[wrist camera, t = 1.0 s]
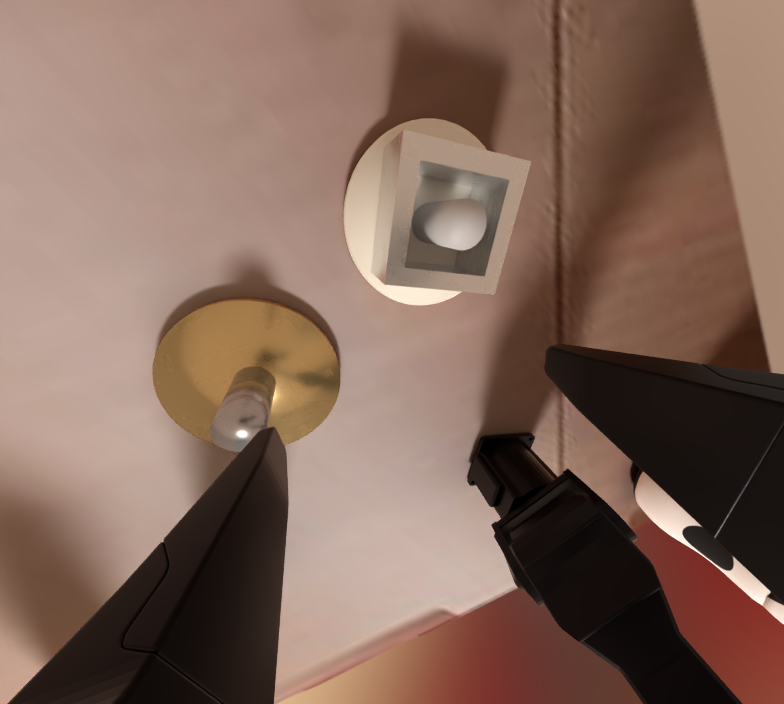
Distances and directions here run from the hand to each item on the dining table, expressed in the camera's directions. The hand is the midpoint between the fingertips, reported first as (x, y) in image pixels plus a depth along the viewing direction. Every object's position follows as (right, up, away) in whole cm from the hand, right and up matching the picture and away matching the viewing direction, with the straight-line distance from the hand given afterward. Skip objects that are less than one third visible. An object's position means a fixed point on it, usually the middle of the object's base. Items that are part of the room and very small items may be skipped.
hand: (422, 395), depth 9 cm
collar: (+1, +10, +10) cm, 14 cm away
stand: (+1, +10, +10) cm, 15 cm away
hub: (-11, -1, +12) cm, 16 cm away
